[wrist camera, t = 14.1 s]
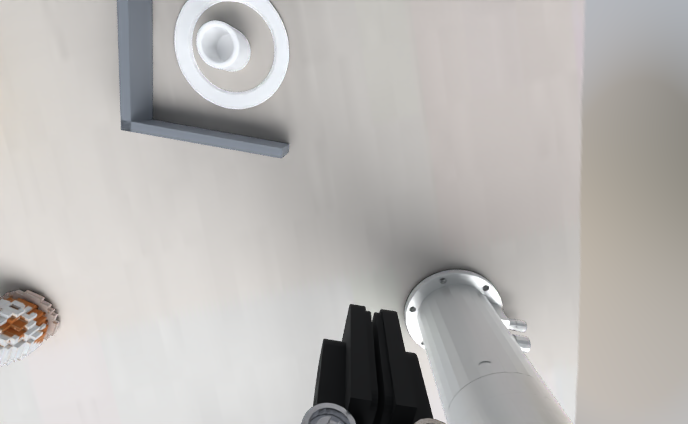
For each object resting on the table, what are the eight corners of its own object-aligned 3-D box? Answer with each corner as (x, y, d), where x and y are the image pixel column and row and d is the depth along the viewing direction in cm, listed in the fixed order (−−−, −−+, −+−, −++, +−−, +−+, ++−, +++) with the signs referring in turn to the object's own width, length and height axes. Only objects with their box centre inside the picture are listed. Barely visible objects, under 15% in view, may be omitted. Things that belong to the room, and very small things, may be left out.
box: (310, -29, 33) (305, -45, 30) (288, 152, 39) (281, 158, 35) (141, -62, 33) (114, -83, 29) (143, 126, 38) (121, 129, 35)
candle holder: (262, -36, 34) (250, -54, 30) (307, 86, 37) (301, 84, 33) (157, 11, 35) (131, 0, 31) (209, 124, 39) (192, 127, 35)
